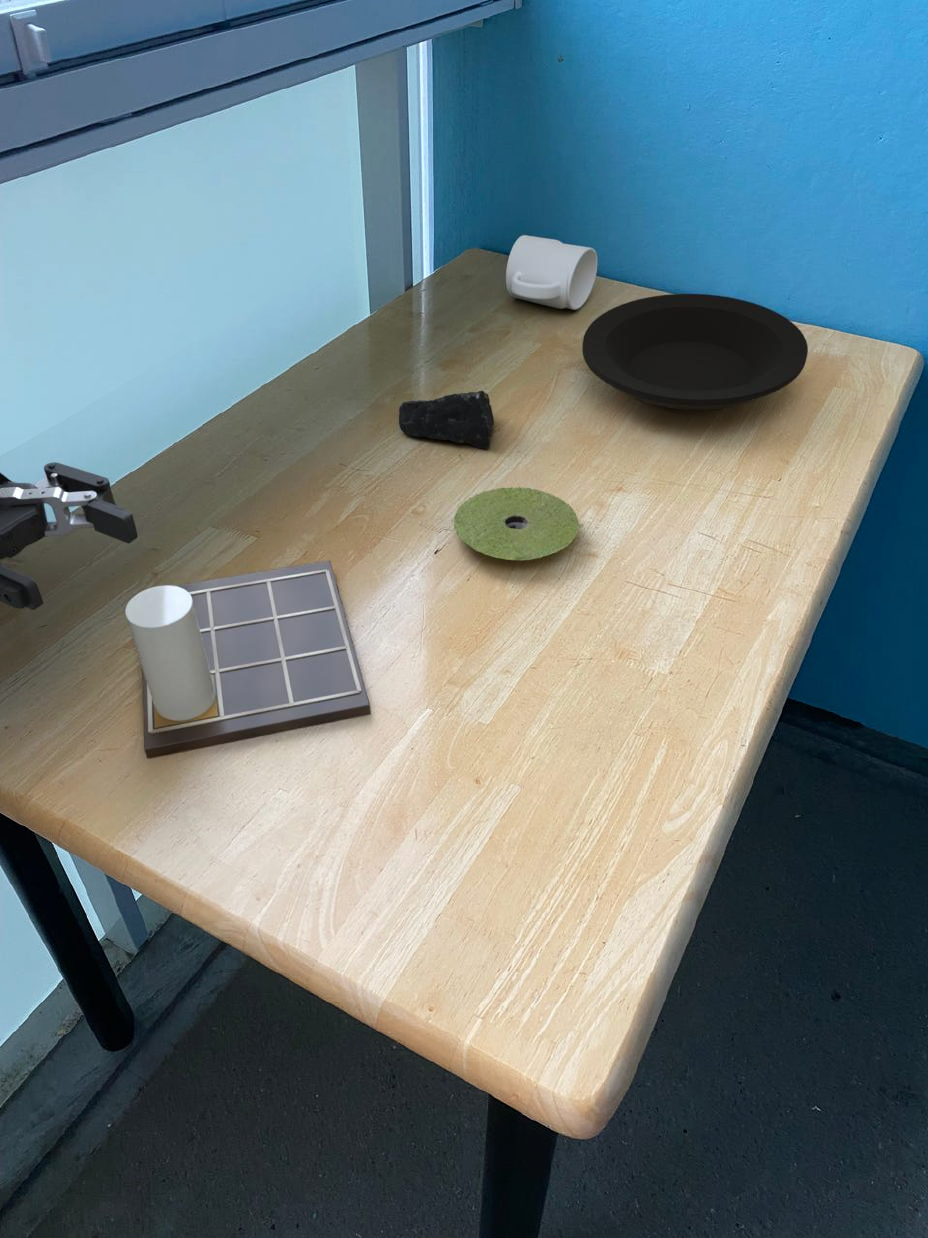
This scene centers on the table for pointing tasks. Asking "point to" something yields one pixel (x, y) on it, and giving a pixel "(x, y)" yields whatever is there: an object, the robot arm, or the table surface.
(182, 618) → the tall white cylinder
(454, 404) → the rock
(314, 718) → the board
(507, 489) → the green grinding disc
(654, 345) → the plate
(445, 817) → the table surface
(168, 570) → the table surface
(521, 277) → the mug
